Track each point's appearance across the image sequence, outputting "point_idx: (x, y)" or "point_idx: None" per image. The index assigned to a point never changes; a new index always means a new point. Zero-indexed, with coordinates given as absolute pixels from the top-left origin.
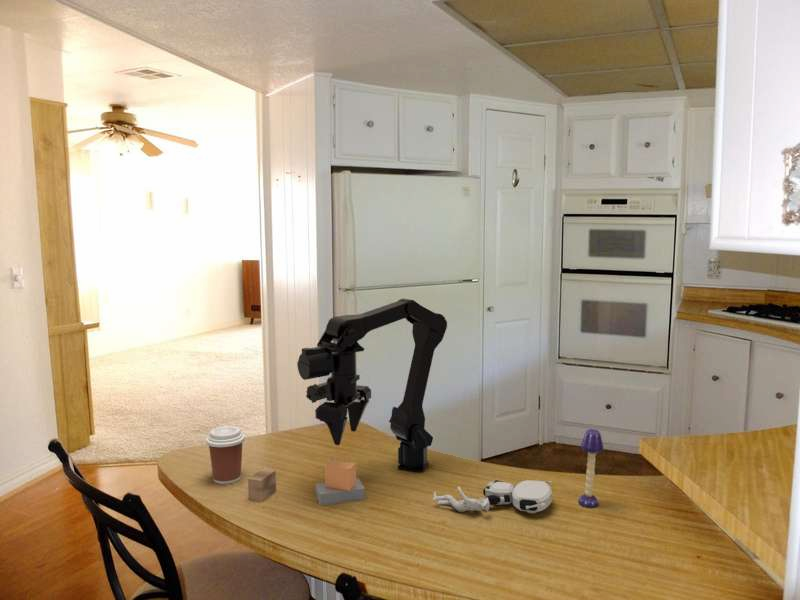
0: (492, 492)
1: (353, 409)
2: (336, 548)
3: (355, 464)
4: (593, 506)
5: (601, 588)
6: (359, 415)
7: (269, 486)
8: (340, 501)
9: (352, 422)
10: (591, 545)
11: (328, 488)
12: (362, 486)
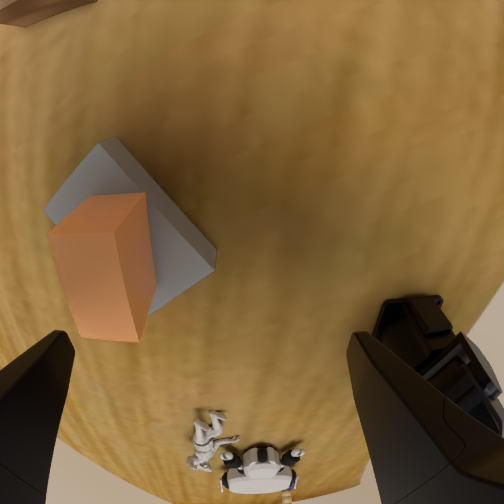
0: (244, 466)
1: (422, 495)
2: None
3: (136, 339)
4: None
5: (129, 480)
6: (379, 476)
7: (44, 7)
8: None
9: (374, 394)
10: (192, 485)
11: None
12: (156, 306)
